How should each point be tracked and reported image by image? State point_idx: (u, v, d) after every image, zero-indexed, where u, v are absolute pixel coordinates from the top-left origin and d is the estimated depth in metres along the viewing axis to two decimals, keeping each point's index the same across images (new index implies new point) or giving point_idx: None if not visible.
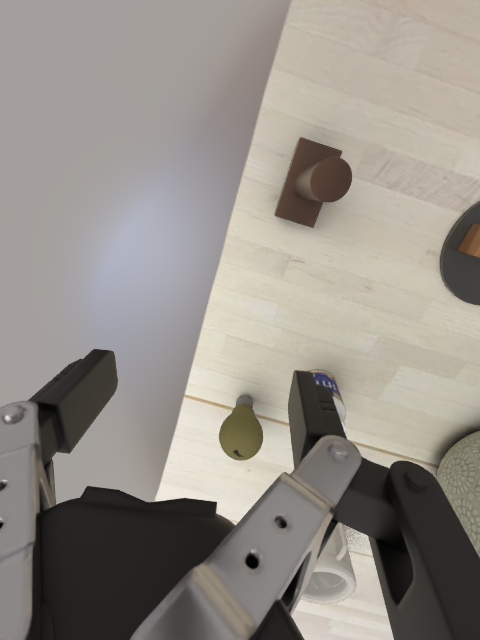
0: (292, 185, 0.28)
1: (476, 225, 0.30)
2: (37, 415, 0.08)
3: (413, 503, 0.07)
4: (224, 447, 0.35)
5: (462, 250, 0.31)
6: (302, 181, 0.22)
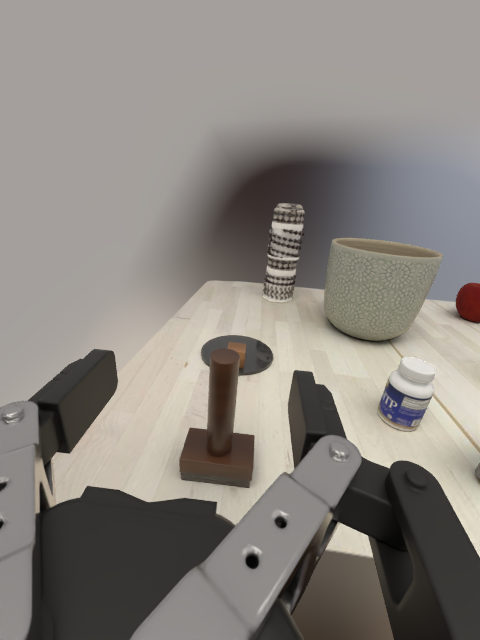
0: (221, 458, 0.28)
1: None
2: (37, 415, 0.08)
3: (413, 503, 0.07)
4: None
5: (243, 363, 0.47)
6: (224, 402, 0.26)
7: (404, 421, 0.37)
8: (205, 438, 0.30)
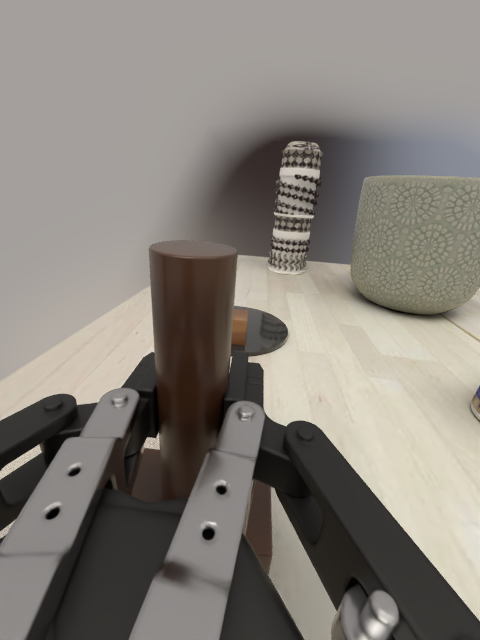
0: None
1: None
2: (135, 407, 0.09)
3: (295, 451, 0.08)
4: None
5: (244, 338, 0.30)
6: (193, 385, 0.09)
7: None
8: None
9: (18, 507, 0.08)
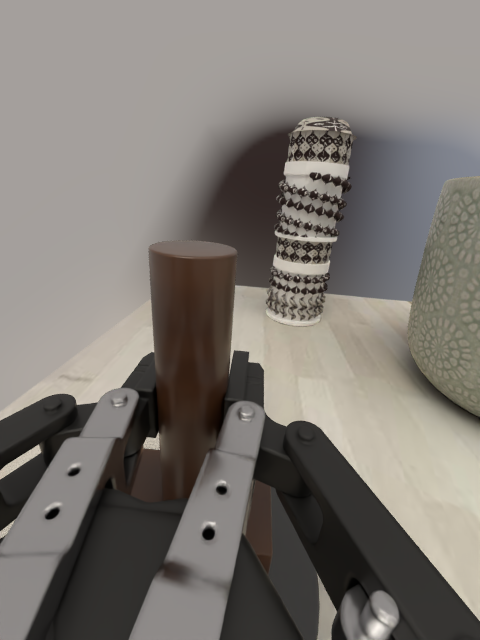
0: None
1: None
2: (135, 407, 0.09)
3: (296, 452, 0.08)
4: None
5: None
6: (193, 385, 0.09)
7: None
8: None
9: (18, 507, 0.08)
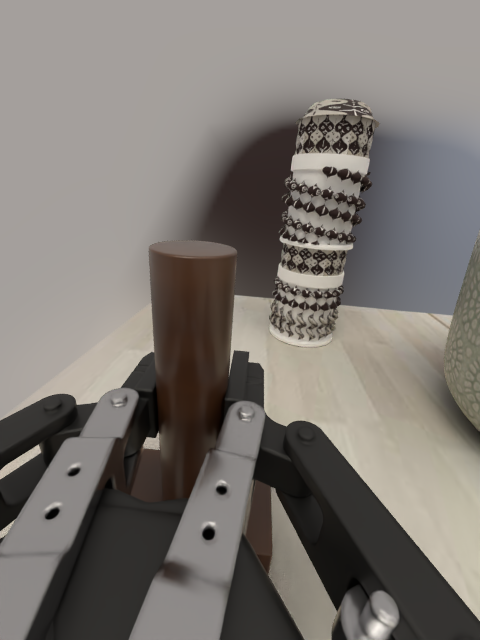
0: None
1: None
2: (135, 407, 0.09)
3: (296, 452, 0.08)
4: None
5: None
6: (193, 385, 0.09)
7: None
8: None
9: (18, 507, 0.08)
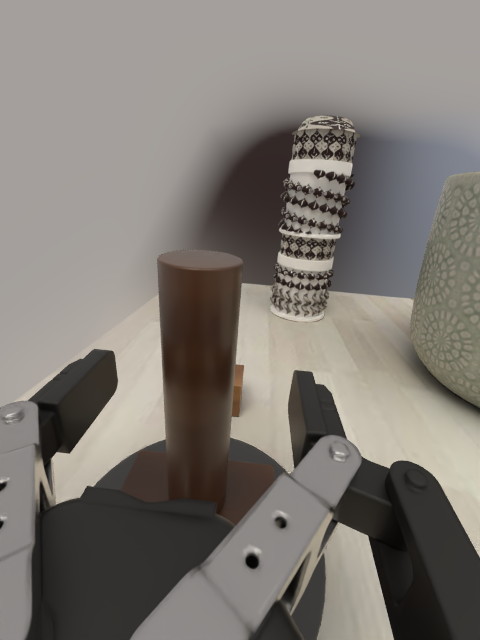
0: None
1: None
2: (37, 415, 0.08)
3: (413, 503, 0.07)
4: None
5: (237, 407, 0.23)
6: (200, 391, 0.09)
7: None
8: None
9: None
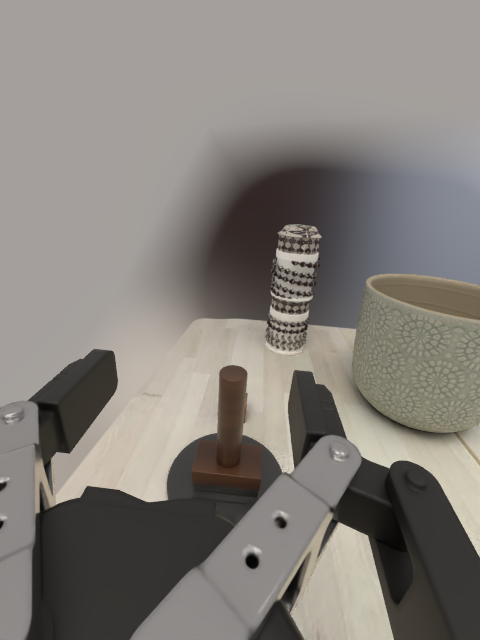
0: (231, 468, 0.30)
1: None
2: (37, 415, 0.08)
3: (413, 503, 0.07)
4: None
5: None
6: (233, 416, 0.27)
7: None
8: (215, 449, 0.32)
9: None
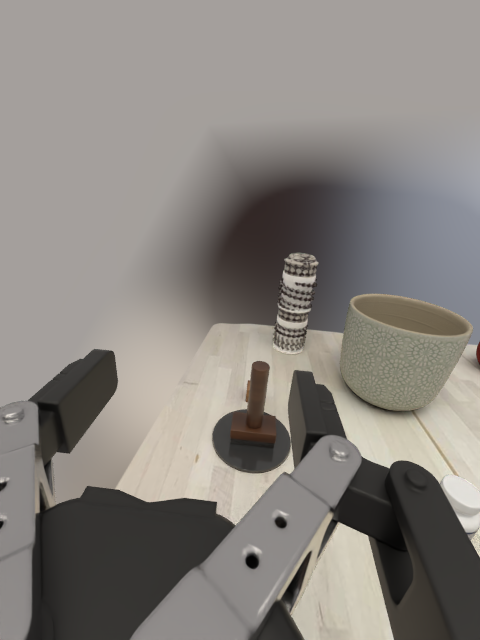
0: (256, 429, 0.45)
1: (246, 398, 0.56)
2: (37, 415, 0.08)
3: (413, 503, 0.07)
4: None
5: None
6: (259, 393, 0.43)
7: None
8: (244, 418, 0.47)
9: None
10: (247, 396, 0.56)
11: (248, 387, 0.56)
